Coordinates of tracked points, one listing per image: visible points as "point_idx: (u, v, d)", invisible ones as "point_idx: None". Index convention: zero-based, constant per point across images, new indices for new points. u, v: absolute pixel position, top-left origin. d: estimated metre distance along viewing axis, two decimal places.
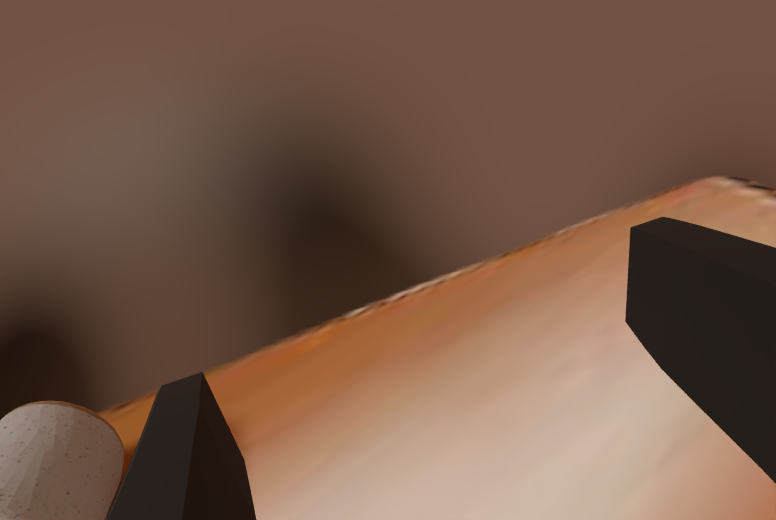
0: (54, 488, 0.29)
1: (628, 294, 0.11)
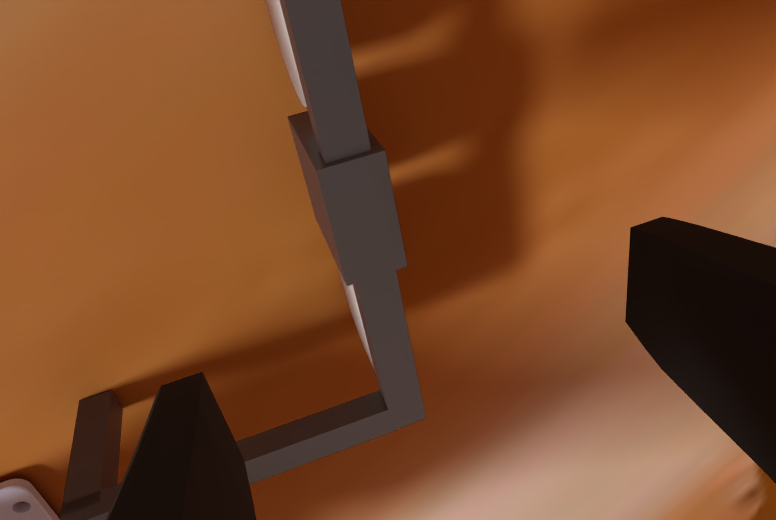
0: None
1: (628, 294, 0.11)
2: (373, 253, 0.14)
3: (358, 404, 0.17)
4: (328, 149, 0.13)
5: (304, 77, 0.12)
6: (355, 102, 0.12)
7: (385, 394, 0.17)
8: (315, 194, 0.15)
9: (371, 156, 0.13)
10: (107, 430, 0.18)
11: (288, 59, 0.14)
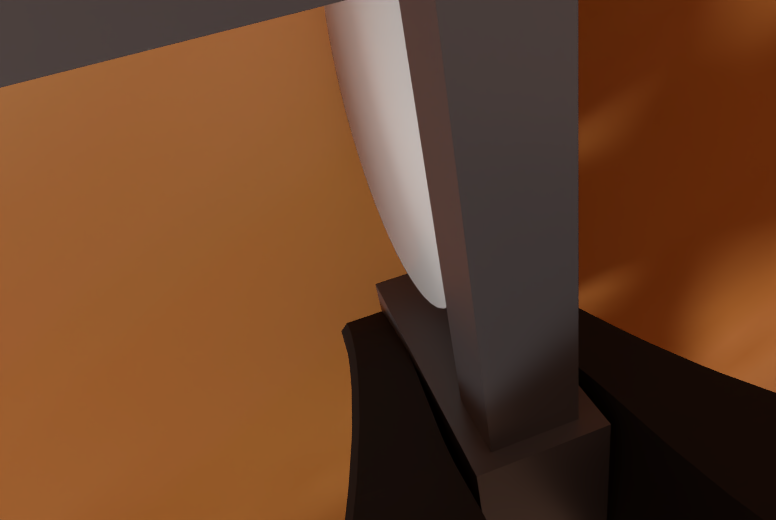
0: None
1: None
2: None
3: None
4: (501, 431, 0.06)
5: (473, 314, 0.05)
6: (567, 346, 0.06)
7: None
8: None
9: (584, 437, 0.06)
10: None
11: (389, 203, 0.08)
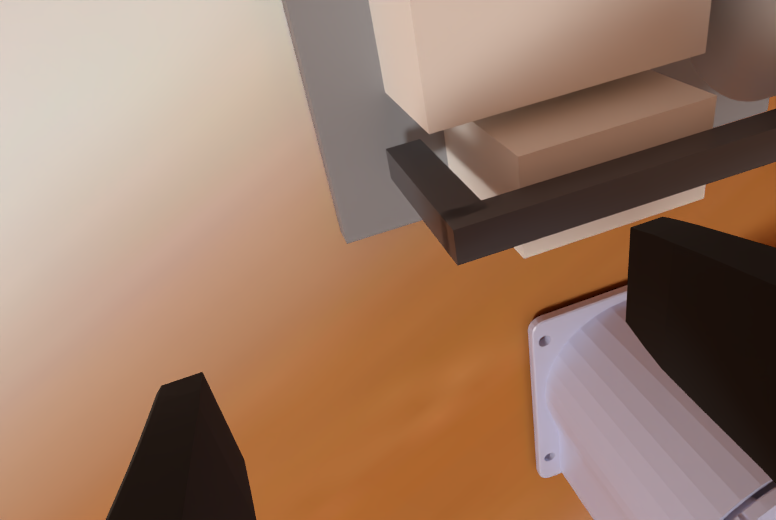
0: None
1: (628, 294, 0.11)
2: None
3: (765, 117, 0.15)
4: None
5: None
6: None
7: None
8: None
9: None
10: (443, 164, 0.15)
11: None
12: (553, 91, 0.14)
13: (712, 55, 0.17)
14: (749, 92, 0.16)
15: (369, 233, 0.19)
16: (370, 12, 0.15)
